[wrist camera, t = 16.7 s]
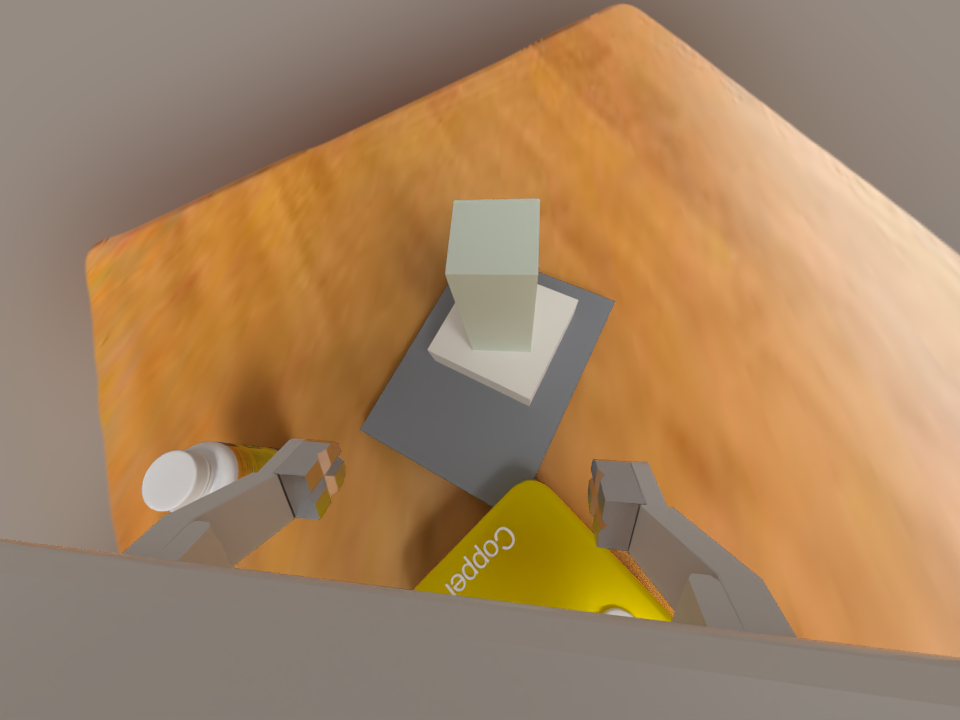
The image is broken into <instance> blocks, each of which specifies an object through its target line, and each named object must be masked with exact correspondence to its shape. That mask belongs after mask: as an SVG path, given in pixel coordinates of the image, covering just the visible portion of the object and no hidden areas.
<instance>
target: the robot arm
mask: <svg viewBox="0 0 960 720" xmlns="http://www.w3.org/2000/svg"><path fill="white" fill-rule="evenodd" d="M340 452H341V449H340V446H339V443H337V442H334V441H323V440H312V439H298V438H293V439H290V440H289V441H288V442H287V443H286V444H285V445H284V446H283V447H282V448H281V449H280V450H279V451H278V452H277V453H276V454H275V455H274V456H273V457H272V458H271V459H270V460H269V461H268V462H267V463H266V464H265V465H264V466H263V467H262V468H261V469H260V470H259V471H258V472H257V473H251V474H249V475H246V476H244V477H242V478H240V479H238V480H236V481H234V482H232V483H230V484H228V485H226V486H224V487H222V488H220V489H218V490H216V491H214V492H212V493H210V494H208V495H206V496H204V497H202V498H200V499H198V500H196V501H194V502H192V503H190V504H188V505H186V506H184V507H181V508H179V509H177V510H175V511H173V512H171V513H169V514H167V515H165V516H164V517H163V518H161V519H160V520H159V521H158V522H157V523H156V524H155V525H154V526H152V527H151V528H150V529H149V530H148V531H147V532H146V533H145V534H143V535H142V536H141V537H140V538H139V539H138V540H137V541H136V542H134V543H133V544H132V545H131V546H130V547H129V548H128V549H127V550H125V551H124V552H123V553H122V554H119V553H110V552H102V551H93V550H86V549H78V548H70V547H62V546H54V545H46V544H38V543H29V542H22V541H15V540H9V539H0V720H960V658H959V657H950V656H942V655H934V654H926V653H918V652H910V651H901V650H893V649H885V648H877V647H869V646H861V645H852V644H844V643H836V642H828V641H820V640H812V639H804V638H797V637H796V635H795V633H794V632H793V630H792V628H791V627H790V625H789V623H788V622H787V620H786V618H785V617H784V615H783V613H782V612H781V610H780V608H779V606H778V605H777V603H776V601H775V600H774V598H773V596H772V595H771V593H770V591H769V590H768V588H767V586H766V585H765V583H764V581H763V580H762V579H761V578H760V577H759V576H757V575H756V574H755V573H754V572H753V571H751V570H750V569H749V568H748V567H746V566H745V565H744V564H743V563H741V562H740V561H739V560H738V559H737V558H735V557H734V556H733V555H732V554H730V553H729V552H728V551H727V550H725V549H724V548H723V547H722V546H720V545H719V544H718V543H717V542H716V541H714V540H713V539H712V538H711V537H709V536H708V535H707V534H706V533H704V532H703V531H702V530H701V529H700V528H698V527H697V526H696V525H695V524H693V523H692V522H691V521H690V520H688V519H687V518H686V517H685V516H684V515H682V514H681V513H680V512H679V511H677V510H676V509H675V508H674V507H668V506H667V504H666V501H665V499H664V497H663V495H662V492H661V490H660V488H659V486H658V483H657V481H656V479H655V477H654V474H653V472H652V470H651V468H650V465H649V464H648V463H647V462H639V461H617V460H600V459H593V462H592V466H591V472H592V477H593V478H591V479H590V480H589V486H588V502H589V509H590V513H591V514H592V515H593V516H594V521H593V531H594V536H595V541H596V546H597V547H599V548H607V549H614V550H622V551H629V552H628V553H629V554H630V556H631V557H632V558H633V559H634V561H635V562H636V563H637V564H638V566H639V567H640V568H641V569H642V571H643V572H644V573H645V574H646V576H647V577H648V578H649V579H650V581H651V582H652V583H653V584H654V586H655V587H656V588H657V589H658V591H659V592H660V593H661V595H662V596H663V597H664V598H665V600H666V601H667V602H668V603H669V605H670V606H671V607H672V608H673V610H674V611H675V613H674V615H673V618H672V620H671V622H667V621H659V620H651V619H643V618H635V617H627V616H619V615H611V614H603V613H595V612H587V611H578V610H570V609H562V608H554V607H546V606H538V605H530V604H522V603H513V602H505V601H497V600H489V599H481V598H473V597H464V596H456V595H448V594H440V593H432V592H424V591H416V590H408V589H400V588H392V587H384V586H376V585H368V584H360V583H352V582H344V581H336V580H328V579H320V578H312V577H304V576H296V575H288V574H280V573H272V572H264V571H255V570H247V569H239V568H235V567H234V565H235V564H237V563H238V562H239V561H240V560H242V559H243V558H244V557H246V556H247V555H248V554H250V553H251V552H252V551H254V550H255V549H256V548H257V547H259V546H260V545H261V544H263V543H264V542H265V541H267V540H268V539H269V538H271V537H272V536H273V535H275V534H276V533H277V532H278V531H280V530H281V529H282V528H284V527H285V526H286V525H288V524H289V523H290V522H292V521H293V520H294V518H305V519H319V520H320V519H321V517H322V516H323V514H324V513H325V511H326V509H327V508H328V506H329V505H330V503H331V497H330V496H331V495H333V494H334V493H336V492H337V491H339V489H340V487H341V486H342V484H343V481H344V478H345V464H344V461H343V460H342V459H341V458H340V457H339V456H338V455H339V454H340Z"/></svg>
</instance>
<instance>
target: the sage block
mask: <svg viewBox="0 0 960 720" xmlns="http://www.w3.org/2000/svg"><path fill="white" fill-rule="evenodd" d="M539 222H540V198H539V199H492V200H454V204H453V212H452V220H451V228H450V236H449V245H448V253H447V261H446V269H445V276H446V279H447V281H448V284H449V287H450V290H451V292H452V295H453V298H454V300H455V303H456V306H457V309H458V311H459V314H460V317H461V320H462V322H463V325H464V328H465V330H466V333H467V336H468V339H469V341H470V344H471V347H472V349H473V350H482V351H511V352H531V342H532V332H533V322H534V312H535V302H536V292H537V282H538V262H539Z"/></svg>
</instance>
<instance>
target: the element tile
mask: <svg viewBox="0 0 960 720" xmlns="http://www.w3.org/2000/svg"><path fill="white" fill-rule="evenodd" d="M413 590H416V591H424V592H432V593H440V594H448V595H456V596H464V597H473V598H481V599H489V600H497V601H505V602H513V603H522V604H530V605H538V606H546V607H554V608H562V609H570V610H578V611H587V612H595V613H603V614H611V615H619V616H627V617H635V618H643V619H651V620H659V621H667V622H671V620H672V618H673V617H672V616H671V614H670V613H669V612H668V611H667V609H666V608H665V607H664V606H663V605H662V604H661V603H660V602H659V601H658V600H657V599H656V598H655V597H654V596H653V595H652V594H651V593H650V592H649V591H648V590H647V589H646V588H645V587H644V585H643V584H642V583H641V582H640V581H639V580H638V579H637V578H636V577H635V576H634V575H633V574H632V573H631V572H630V571H629V570H628V569H627V568H626V567H625V566H624V565H623V564H622V562H621V561H620V560H619V559H618V558H617V557H616V556H615V555H614V554H613V553H612V552H611V551H610V550H609V549H607V548H599V547H597V546H596V541H595V536H594V533H593V532H592V531H591V530H590V529H589V528H588V527H587V526H586V525H585V524H584V523H583V522H582V521H581V520H580V519H579V518H578V517H577V515H576V514H575V513H574V512H573V511H572V510H571V509H570V508H569V507H568V506H567V505H566V504H565V503H564V502H563V501H562V500H561V499H560V498H559V497H558V496H557V495H556V494H555V493H554V491H553V490H552V489H550V488H549V487H548V486H546V485H545V484H543V483H541V482H539V481H536V480H524V481H521V482H519V483H517V484H516V485H514V486H513V487H512V488H511V489H510V490H509V491H508V492H507V493H506V494H505V495H504V496H503V497H502V498H501V499H500V500H499V501H498V502H497V503H496V504H495V505H494V506H493V507H492V508H491V509H490V510H489V511H488V512H487V513H486V514H485V515H484V516H483V517H482V518H481V519H480V520H479V521H478V522H477V523H476V524H475V525H474V527H473V528H472V529H471V530H470V531H469V532H468V533H467V534H466V535H465V536H464V537H463V538H462V539H461V540H460V541H459V542H458V543H457V544H456V545H455V546H454V547H453V548H452V549H451V550H450V551H449V552H448V553H447V554H446V555H445V556H444V557H443V558H442V560H441V561H440V562H439V563H438V564H437V565H436V566H435V567H434V568H433V569H432V570H431V571H430V572H429V573H428V574H427V575H426V576H425V577H424V578H423V579H422V580H421V581H420V582H419V583H418V585H417V586H416V587H415V588H414V589H413Z"/></svg>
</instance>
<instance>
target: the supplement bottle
mask: <svg viewBox="0 0 960 720" xmlns="http://www.w3.org/2000/svg"><path fill="white" fill-rule="evenodd" d="M279 450H280V449H276V448H269V447H259V446H249V445H239V444H230V443H221V442H203V443H199V444H196V445H193V446H191V447H190V448H188V449H186V450H174V451H170V452H167V453H165V454H163V455H161V456H160V457H159V458H157V459H156V460H155V461H154V462H153V463H152V464H151V466H150V467H149V469H148V470H147V472H146V474H145V476H144V479H143V483H142V496H143V499H144V501H145V503H146V504H147V505H148V506H149V507H150V508H151V509H153V510H156V511H170V512H173V511H175V510H177V509H179V508H181V507H184V506H186V505H188V504H190V503H192V502H194V501H196V500H198V499H200V498H202V497H204V496H206V495H208V494H210V493H212V492H214V491H216V490H218V489H220V488H222V487H224V486H226V485H228V484H230V483H232V482H234V481H236V480H238V479H240V478H242V477H244V476H246V475H249V474H251V473H257V472H258V471H259V470H260V469H261V468H262V467H263V466H264V465H265V464H266V463H267V462H268V461H269V460H270V459H271V458H272V457H273V456H274V455H275V454H276V453H277V452H278V451H279Z"/></svg>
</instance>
